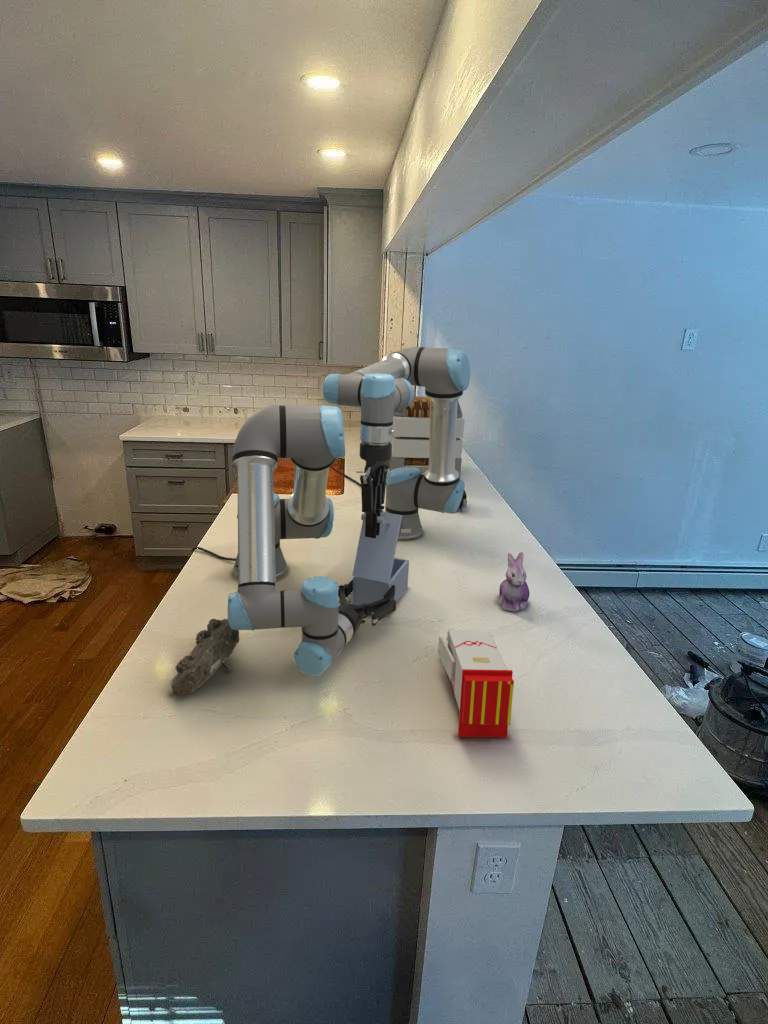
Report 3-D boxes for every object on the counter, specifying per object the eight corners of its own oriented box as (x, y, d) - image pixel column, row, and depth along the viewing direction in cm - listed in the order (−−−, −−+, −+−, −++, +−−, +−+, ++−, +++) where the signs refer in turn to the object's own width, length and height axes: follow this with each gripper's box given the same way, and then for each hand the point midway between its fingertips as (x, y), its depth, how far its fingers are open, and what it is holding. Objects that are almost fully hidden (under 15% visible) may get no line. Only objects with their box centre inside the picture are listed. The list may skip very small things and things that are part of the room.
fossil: (193, 621, 132) (239, 591, 127) (222, 649, 135) (268, 620, 130) (150, 689, 112) (202, 656, 107) (184, 719, 115) (237, 689, 110)
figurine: (511, 616, 149) (518, 564, 143) (487, 598, 157) (493, 549, 152) (539, 609, 153) (547, 558, 148) (514, 592, 161) (521, 544, 156)
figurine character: (467, 516, 223) (461, 500, 237) (469, 499, 220) (463, 483, 233) (450, 516, 223) (446, 499, 236) (452, 498, 220) (447, 483, 233)
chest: (374, 581, 164) (376, 553, 161) (407, 588, 161) (409, 559, 158) (352, 608, 149) (352, 578, 146) (387, 616, 146) (388, 585, 143)
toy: (488, 613, 130) (523, 677, 101) (484, 667, 133) (517, 744, 104) (435, 612, 130) (455, 676, 101) (432, 666, 133) (451, 743, 103)
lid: (366, 509, 148) (354, 505, 140) (402, 515, 145) (392, 511, 137) (353, 576, 147) (341, 575, 138) (389, 583, 144) (379, 583, 135)
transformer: (382, 463, 289) (386, 382, 275) (445, 464, 293) (451, 384, 279) (390, 482, 257) (394, 392, 243) (460, 483, 261) (468, 394, 247)
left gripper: (295, 630, 133) (335, 590, 153) (385, 652, 126) (414, 607, 146) (294, 602, 131) (335, 565, 151) (386, 623, 124) (416, 581, 144)
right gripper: (380, 450, 125) (375, 548, 133) (401, 438, 138) (396, 528, 146) (348, 446, 127) (346, 543, 135) (372, 434, 140) (368, 523, 148)
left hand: (374, 585), depth 148 cm, fingers closed on chest, 10 cm apart
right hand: (372, 535), depth 140 cm, fingers closed on lid, 1 cm apart
